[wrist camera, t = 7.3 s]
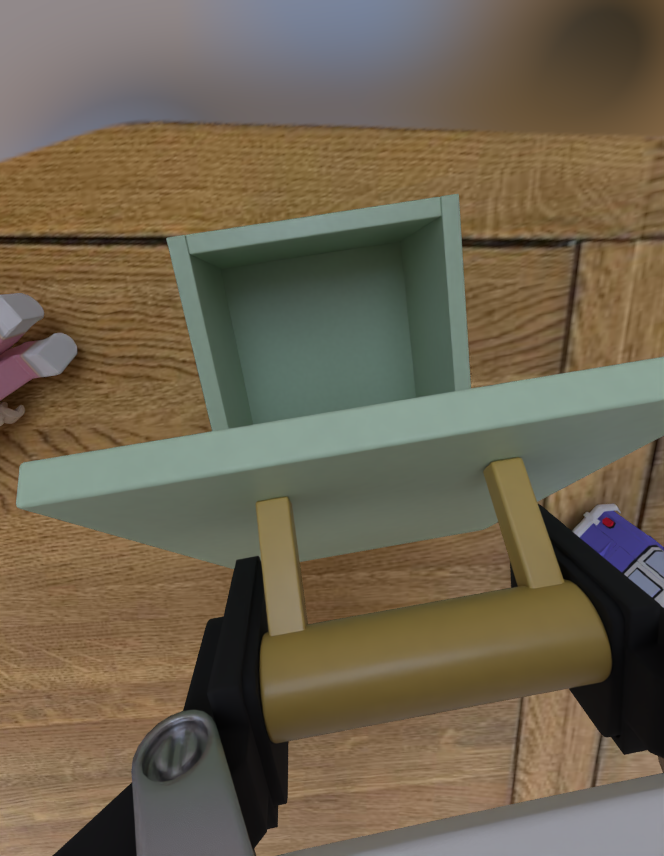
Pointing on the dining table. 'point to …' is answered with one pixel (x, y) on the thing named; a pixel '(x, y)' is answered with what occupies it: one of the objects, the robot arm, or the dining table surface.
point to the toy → (27, 350)
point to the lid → (383, 534)
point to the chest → (326, 311)
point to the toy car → (625, 548)
